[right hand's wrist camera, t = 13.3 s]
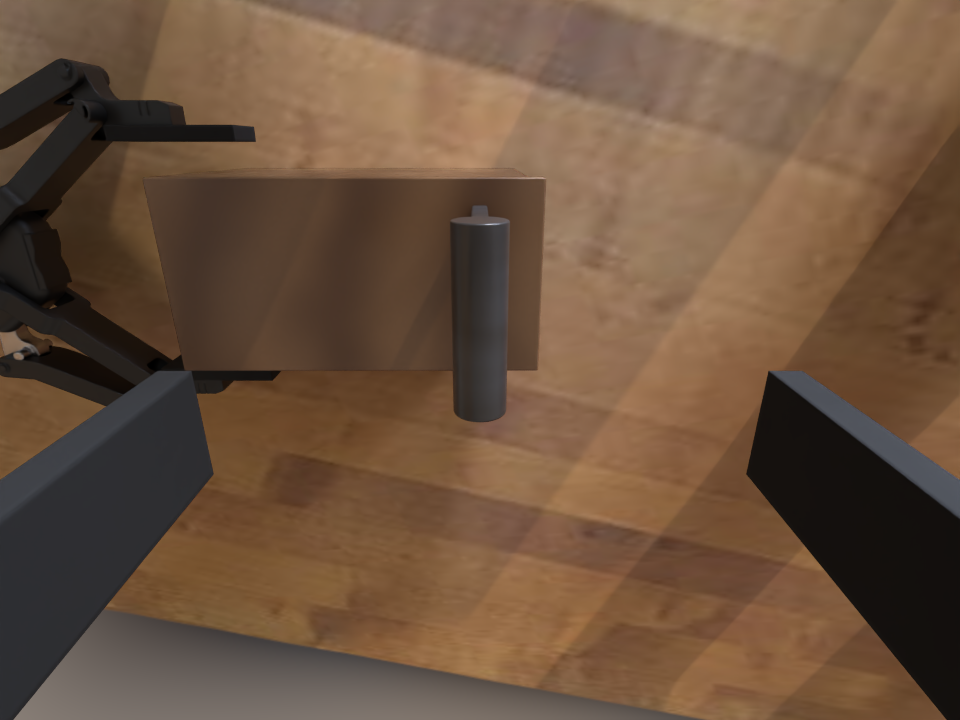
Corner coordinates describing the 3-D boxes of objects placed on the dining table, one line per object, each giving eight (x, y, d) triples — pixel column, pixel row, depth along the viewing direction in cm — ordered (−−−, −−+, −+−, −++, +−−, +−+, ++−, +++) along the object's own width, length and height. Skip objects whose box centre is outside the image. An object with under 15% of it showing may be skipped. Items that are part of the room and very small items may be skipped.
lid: (544, 176, 25) (574, 189, 17) (536, 364, 28) (557, 447, 20) (152, 176, 25) (2, 189, 17) (192, 364, 28) (83, 447, 20)
